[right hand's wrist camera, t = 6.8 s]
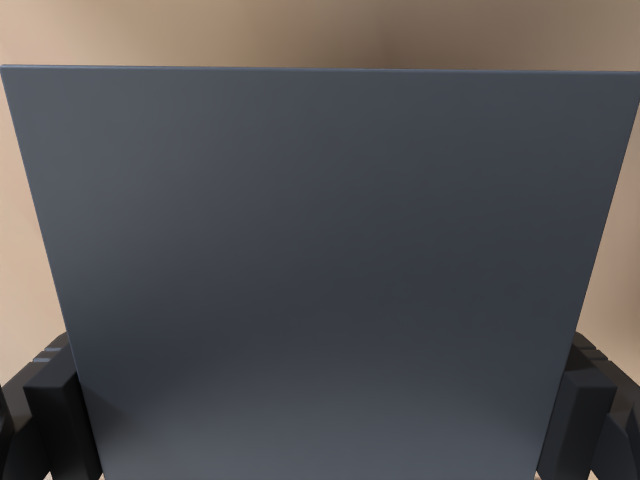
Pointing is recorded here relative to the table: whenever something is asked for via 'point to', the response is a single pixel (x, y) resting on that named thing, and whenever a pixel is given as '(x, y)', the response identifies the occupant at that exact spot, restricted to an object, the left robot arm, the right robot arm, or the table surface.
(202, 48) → the table surface
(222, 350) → the thick board
